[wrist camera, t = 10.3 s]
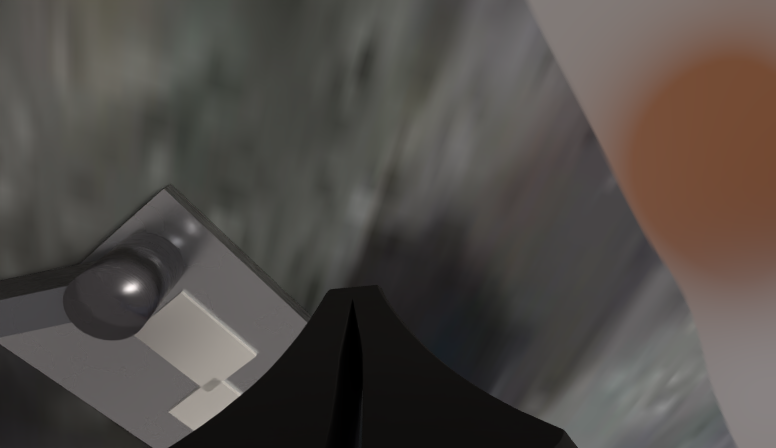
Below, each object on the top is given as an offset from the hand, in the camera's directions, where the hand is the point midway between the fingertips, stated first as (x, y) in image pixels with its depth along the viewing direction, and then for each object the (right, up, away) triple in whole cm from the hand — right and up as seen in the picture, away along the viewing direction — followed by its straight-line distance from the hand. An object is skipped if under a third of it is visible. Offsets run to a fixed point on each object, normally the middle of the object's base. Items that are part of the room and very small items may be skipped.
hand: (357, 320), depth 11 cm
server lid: (-10, -4, +12) cm, 16 cm away
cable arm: (-15, 0, +9) cm, 17 cm away
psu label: (-9, -4, +11) cm, 15 cm away
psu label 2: (-8, -8, +13) cm, 17 cm away
